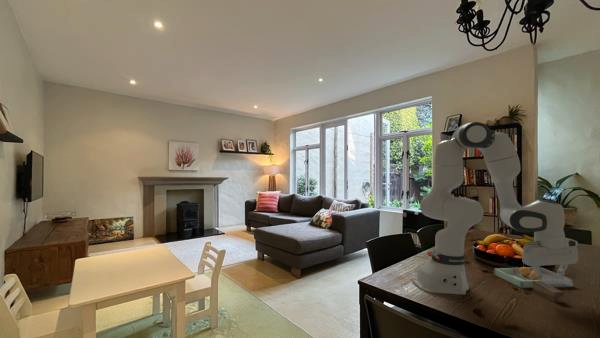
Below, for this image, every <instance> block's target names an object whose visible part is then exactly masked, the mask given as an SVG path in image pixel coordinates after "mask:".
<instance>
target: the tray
mask: <svg viewBox="0 0 600 338" xmlns="http://www.w3.org/2000/svg"><path fill="white" fill-rule="evenodd" d="M511 268H512V267H506V268H505V267H504V268H503V267H500V268H497V267H495V268H494V270H493V275H494V276H496V277H497V278H500V279H502V280H504V281H506V282H507V283H509V284H512V285H514V286H516V287H518V288H520V289H533V281H538V280H524V279H522V278H520V277H517V276H515V275H513V274H511Z"/></svg>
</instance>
